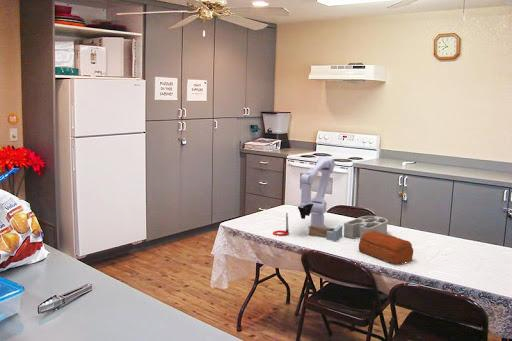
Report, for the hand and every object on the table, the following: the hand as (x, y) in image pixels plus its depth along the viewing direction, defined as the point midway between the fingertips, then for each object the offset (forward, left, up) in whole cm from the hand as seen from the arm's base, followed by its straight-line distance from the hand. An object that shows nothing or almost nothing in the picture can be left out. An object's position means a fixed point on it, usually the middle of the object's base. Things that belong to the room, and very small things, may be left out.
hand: (305, 217), depth 285 cm
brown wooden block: (0, +10, -10) cm, 14 cm away
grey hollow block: (-16, +34, -10) cm, 39 cm away
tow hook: (+8, -12, -10) cm, 18 cm away
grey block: (0, +19, -10) cm, 21 cm away
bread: (+16, +50, -10) cm, 54 cm away
